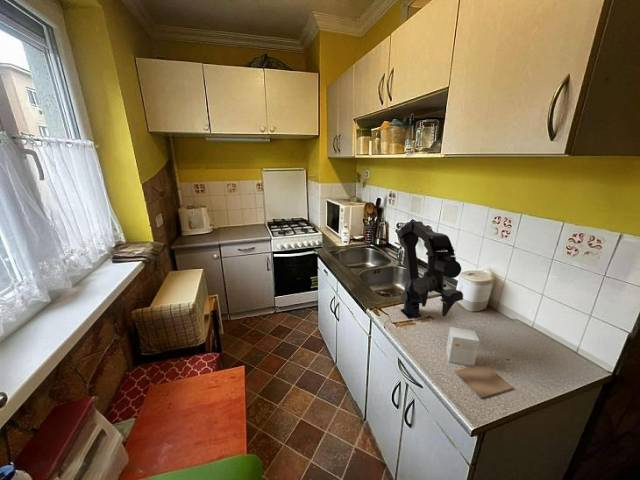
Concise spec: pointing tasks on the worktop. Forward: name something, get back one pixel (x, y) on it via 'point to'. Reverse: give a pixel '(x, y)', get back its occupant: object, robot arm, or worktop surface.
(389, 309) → the worktop surface
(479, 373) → the brown coaster
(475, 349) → the small box
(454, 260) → the robot arm
